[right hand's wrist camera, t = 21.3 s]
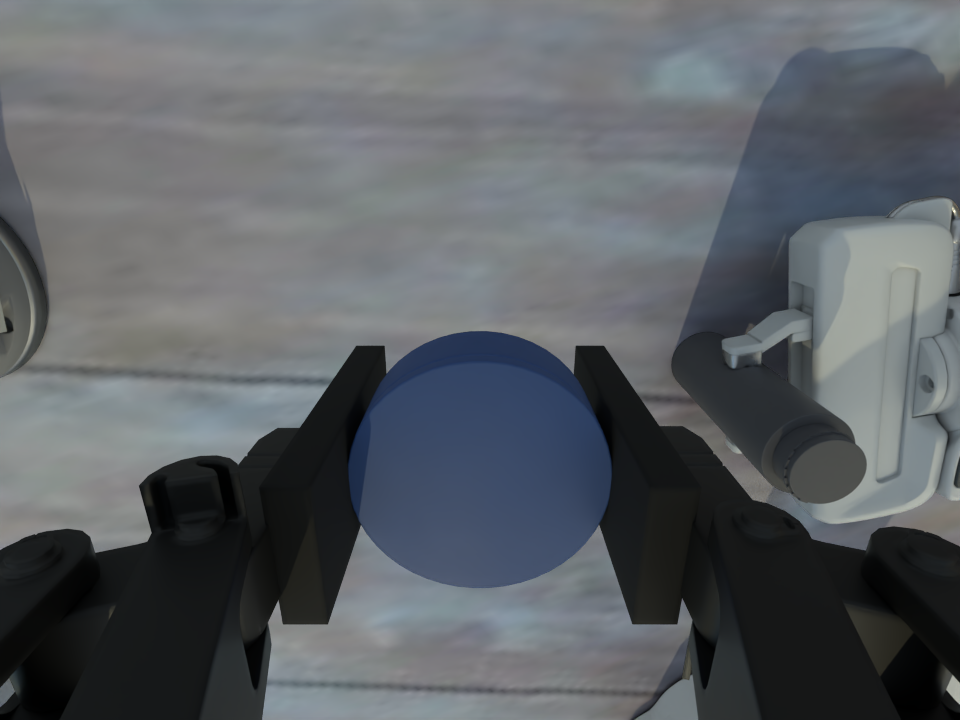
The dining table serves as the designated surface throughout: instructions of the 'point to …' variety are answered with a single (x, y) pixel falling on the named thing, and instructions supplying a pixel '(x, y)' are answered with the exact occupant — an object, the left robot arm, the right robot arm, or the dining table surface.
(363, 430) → the lid
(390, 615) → the dining table surface
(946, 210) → the left robot arm
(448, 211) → the dining table surface
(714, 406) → the dark grey cylinder
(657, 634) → the dining table surface
